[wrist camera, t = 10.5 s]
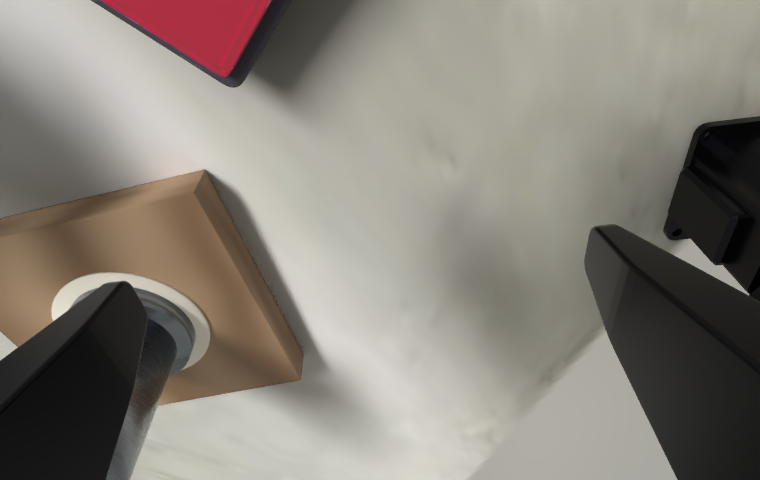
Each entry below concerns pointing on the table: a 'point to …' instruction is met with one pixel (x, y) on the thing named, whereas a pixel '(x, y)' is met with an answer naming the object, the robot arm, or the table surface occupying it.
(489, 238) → the table surface
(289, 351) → the stand
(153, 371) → the housing
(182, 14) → the red and white box
